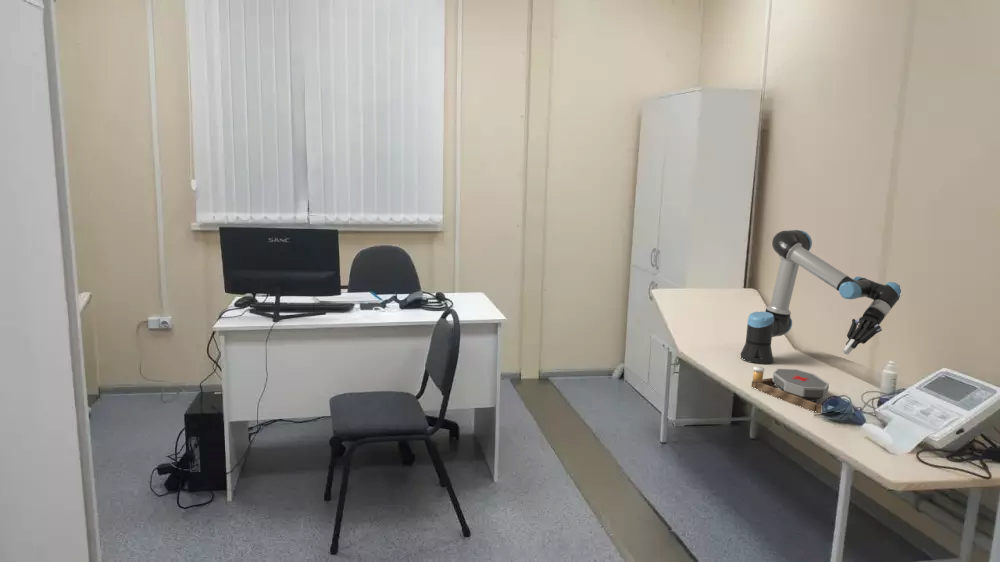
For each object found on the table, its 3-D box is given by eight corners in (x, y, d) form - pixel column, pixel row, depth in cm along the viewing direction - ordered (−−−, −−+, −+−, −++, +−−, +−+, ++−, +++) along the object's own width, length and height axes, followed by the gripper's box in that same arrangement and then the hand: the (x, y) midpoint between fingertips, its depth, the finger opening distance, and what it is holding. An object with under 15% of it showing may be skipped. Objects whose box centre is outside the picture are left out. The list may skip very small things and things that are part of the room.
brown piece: (751, 387, 278) (752, 381, 278) (770, 384, 284) (771, 378, 283) (820, 414, 249) (821, 407, 249) (840, 410, 255) (841, 403, 254)
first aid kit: (834, 406, 259) (805, 386, 284) (836, 388, 258) (807, 369, 283) (790, 405, 259) (765, 384, 284) (792, 387, 258) (767, 368, 282)
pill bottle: (749, 382, 285) (751, 367, 284) (756, 381, 287) (758, 366, 286) (757, 386, 281) (759, 370, 280) (764, 384, 283) (766, 368, 282)
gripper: (859, 303, 287) (828, 342, 282) (888, 310, 275) (856, 351, 271) (865, 314, 290) (834, 353, 286) (893, 321, 279) (862, 362, 274)
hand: (845, 352), depth 278 cm, fingers closed
